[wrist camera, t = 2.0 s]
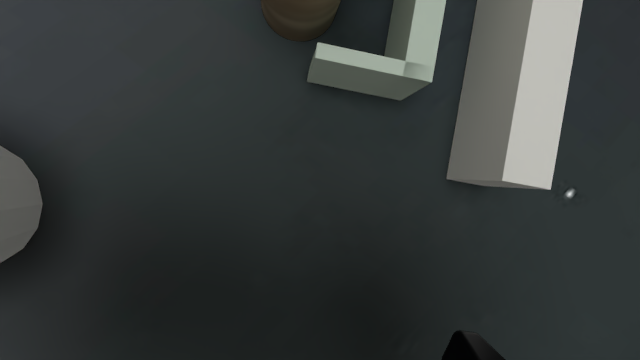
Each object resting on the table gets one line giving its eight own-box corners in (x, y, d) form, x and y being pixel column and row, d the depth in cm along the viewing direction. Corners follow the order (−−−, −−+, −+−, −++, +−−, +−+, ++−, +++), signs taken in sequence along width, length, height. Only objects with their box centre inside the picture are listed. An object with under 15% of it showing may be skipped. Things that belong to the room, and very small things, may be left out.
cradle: (306, 81, 19) (315, 57, 15) (332, -66, 19) (347, -128, 15) (400, 100, 20) (431, 82, 16) (425, -43, 20) (463, -98, 16)
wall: (446, 179, 20) (502, 180, 15) (493, -96, 20) (564, -184, 15) (483, 185, 20) (550, 189, 15) (530, -86, 21) (611, -169, 16)
